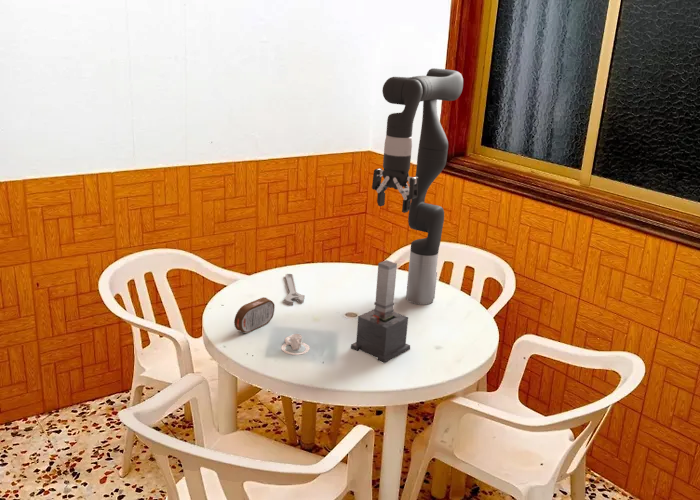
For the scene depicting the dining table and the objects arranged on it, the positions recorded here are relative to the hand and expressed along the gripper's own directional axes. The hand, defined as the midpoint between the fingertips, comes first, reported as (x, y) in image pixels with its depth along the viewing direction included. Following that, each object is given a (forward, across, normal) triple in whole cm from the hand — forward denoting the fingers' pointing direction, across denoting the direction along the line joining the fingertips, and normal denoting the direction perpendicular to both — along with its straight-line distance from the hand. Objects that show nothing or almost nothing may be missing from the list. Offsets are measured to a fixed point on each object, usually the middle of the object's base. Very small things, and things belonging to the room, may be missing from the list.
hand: (392, 208), depth 190 cm
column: (+31, -7, +10) cm, 33 cm away
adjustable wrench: (+39, +40, -2) cm, 55 cm away
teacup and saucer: (+39, +10, +24) cm, 47 cm away
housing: (+38, -7, +10) cm, 40 cm away
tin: (+38, +27, +27) cm, 54 cm away
